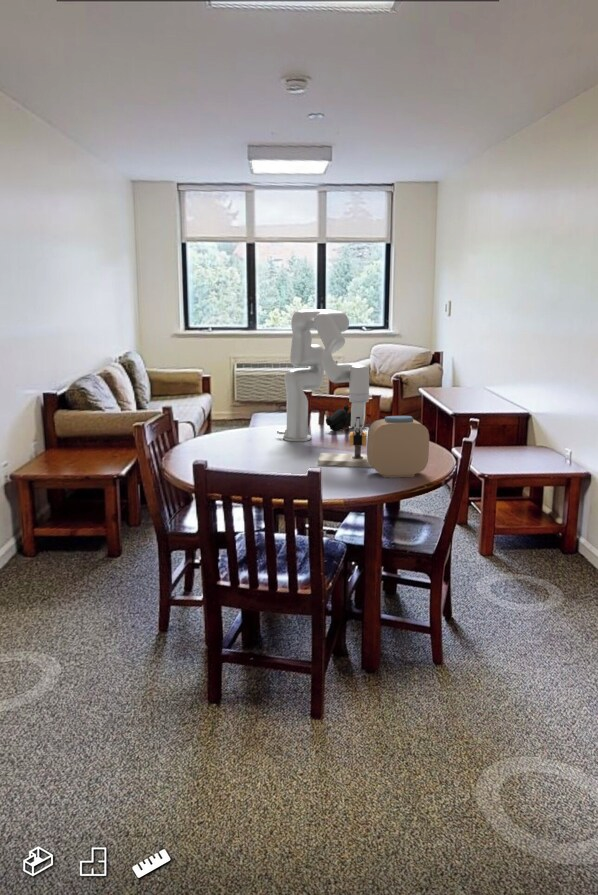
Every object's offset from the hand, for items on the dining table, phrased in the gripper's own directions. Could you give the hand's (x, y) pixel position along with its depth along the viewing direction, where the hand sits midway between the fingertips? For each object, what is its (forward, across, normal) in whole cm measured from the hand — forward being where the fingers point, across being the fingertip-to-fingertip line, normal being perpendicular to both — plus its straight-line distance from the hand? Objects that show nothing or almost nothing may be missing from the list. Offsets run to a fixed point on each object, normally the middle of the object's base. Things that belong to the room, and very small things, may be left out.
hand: (358, 442), depth 267 cm
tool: (+8, -64, -9) cm, 65 cm away
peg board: (+8, 0, -4) cm, 9 cm away
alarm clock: (+8, +15, +15) cm, 23 cm away
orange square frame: (0, 0, 0) cm, 0 cm away
